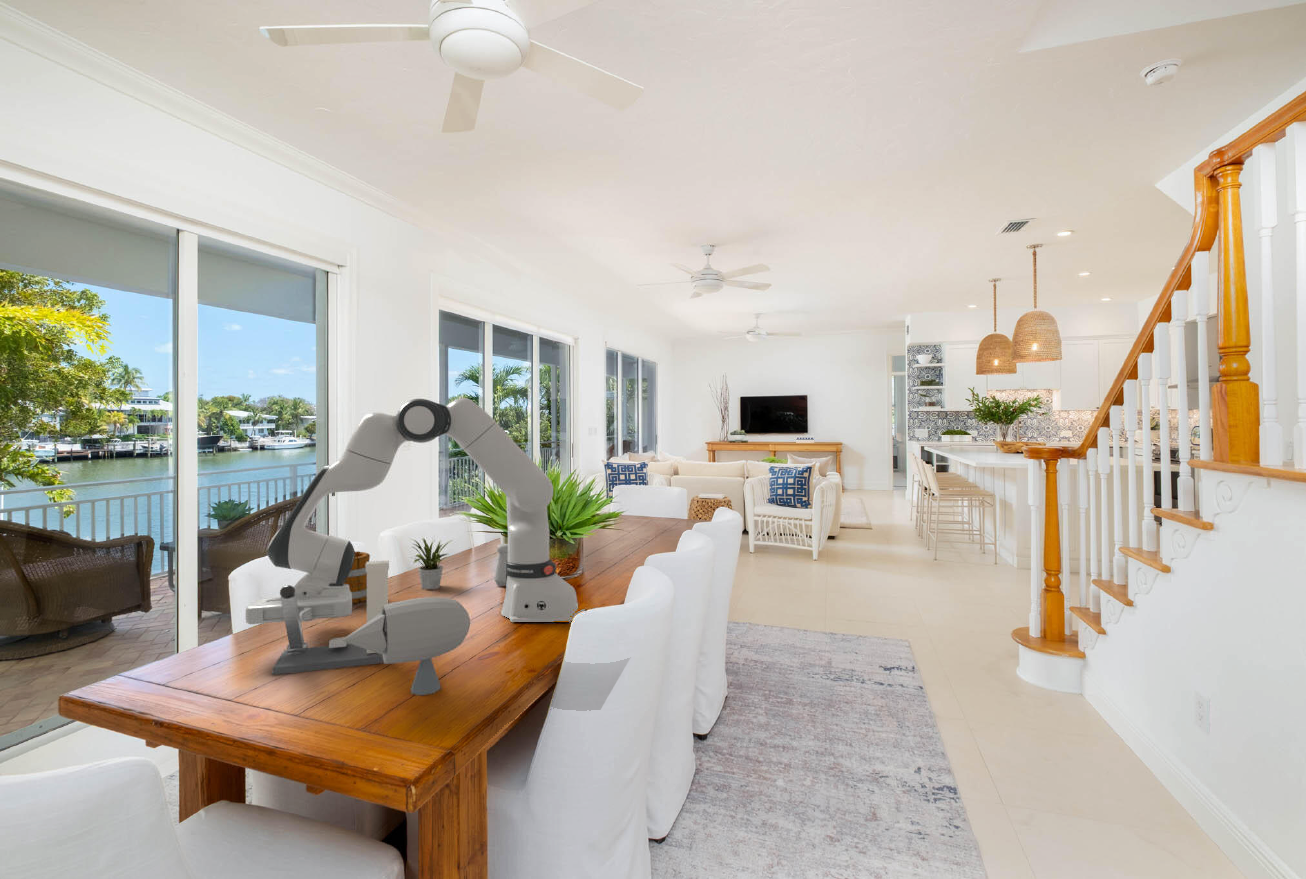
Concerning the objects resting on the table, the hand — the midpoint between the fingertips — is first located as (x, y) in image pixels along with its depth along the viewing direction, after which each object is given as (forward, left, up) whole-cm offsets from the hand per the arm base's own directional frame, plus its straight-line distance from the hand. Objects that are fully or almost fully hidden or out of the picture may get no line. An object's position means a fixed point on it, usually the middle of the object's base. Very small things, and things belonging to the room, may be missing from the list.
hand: (293, 619), depth 125 cm
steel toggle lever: (+1, -3, -7) cm, 8 cm away
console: (-7, -5, -10) cm, 13 cm away
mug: (+22, -42, -10) cm, 49 cm away
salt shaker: (-16, -69, -10) cm, 71 cm away
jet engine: (-30, +5, -10) cm, 33 cm away
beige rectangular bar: (-15, -7, -8) cm, 18 cm away
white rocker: (-6, -7, -7) cm, 11 cm away
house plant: (+6, -61, -10) cm, 62 cm away
